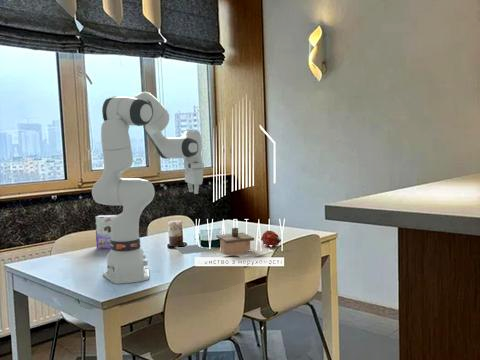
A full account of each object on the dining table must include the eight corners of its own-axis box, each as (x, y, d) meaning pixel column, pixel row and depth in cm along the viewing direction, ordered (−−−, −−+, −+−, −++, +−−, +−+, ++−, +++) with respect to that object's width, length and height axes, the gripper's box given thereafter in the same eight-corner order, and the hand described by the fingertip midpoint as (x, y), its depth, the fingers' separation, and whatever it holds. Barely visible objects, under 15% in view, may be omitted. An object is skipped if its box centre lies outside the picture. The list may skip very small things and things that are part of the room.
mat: (215, 251, 236) (215, 250, 236) (182, 254, 231) (182, 254, 231) (204, 244, 251) (204, 243, 251) (174, 247, 245) (174, 246, 245)
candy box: (126, 246, 250) (125, 214, 248) (122, 249, 244) (121, 216, 243) (100, 246, 251) (99, 214, 250) (96, 249, 246) (94, 216, 244)
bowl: (253, 252, 232) (253, 240, 232) (226, 255, 227) (226, 243, 227) (243, 246, 245) (243, 235, 244) (217, 249, 240) (217, 237, 239)
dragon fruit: (264, 246, 251) (278, 254, 242) (253, 239, 247) (267, 246, 237) (273, 232, 253) (287, 240, 243) (263, 224, 248) (277, 232, 238)
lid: (254, 240, 231) (254, 229, 231) (226, 243, 226) (226, 232, 226) (243, 234, 244) (243, 224, 244) (216, 237, 239) (216, 227, 239)
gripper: (181, 163, 245) (182, 191, 246) (192, 165, 226) (192, 195, 227) (193, 163, 247) (194, 190, 248) (205, 164, 228) (205, 194, 229)
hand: (193, 192), depth 237 cm, fingers open, 8 cm apart
